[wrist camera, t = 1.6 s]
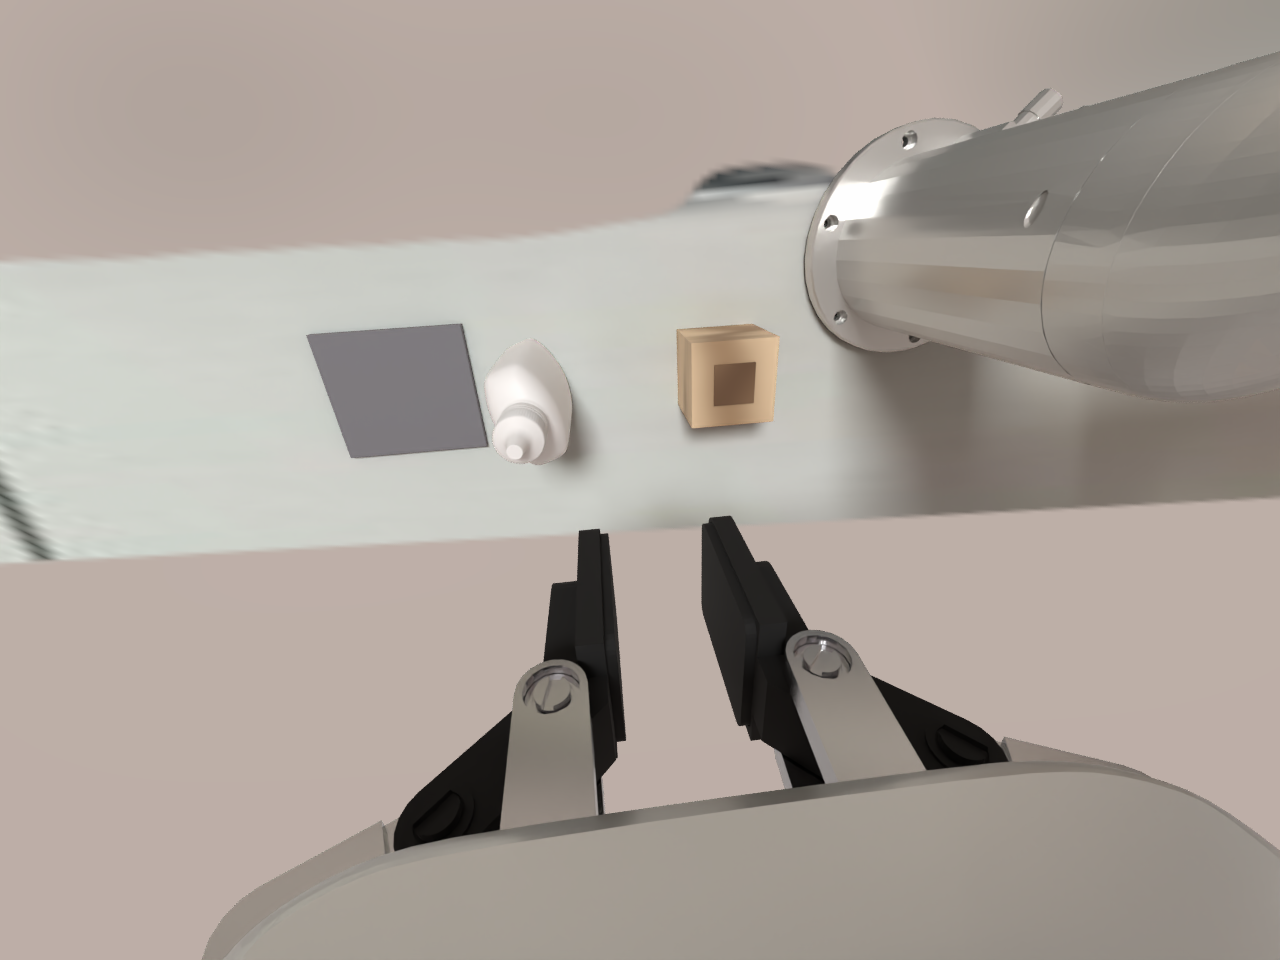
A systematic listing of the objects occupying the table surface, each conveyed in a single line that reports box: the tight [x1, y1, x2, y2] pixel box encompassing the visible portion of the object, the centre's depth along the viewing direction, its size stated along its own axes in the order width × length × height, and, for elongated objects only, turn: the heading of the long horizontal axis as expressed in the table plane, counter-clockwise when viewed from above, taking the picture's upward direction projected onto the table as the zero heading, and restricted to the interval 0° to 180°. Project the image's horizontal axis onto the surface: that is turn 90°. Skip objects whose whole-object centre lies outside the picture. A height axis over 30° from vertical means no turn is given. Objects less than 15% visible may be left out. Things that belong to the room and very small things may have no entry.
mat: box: [306, 324, 488, 458], centre depth 30 cm, size 9×8×1 cm
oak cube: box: [677, 324, 780, 428], centre depth 29 cm, size 5×5×5 cm
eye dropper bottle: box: [484, 338, 572, 465], centre depth 26 cm, size 4×6×12 cm
